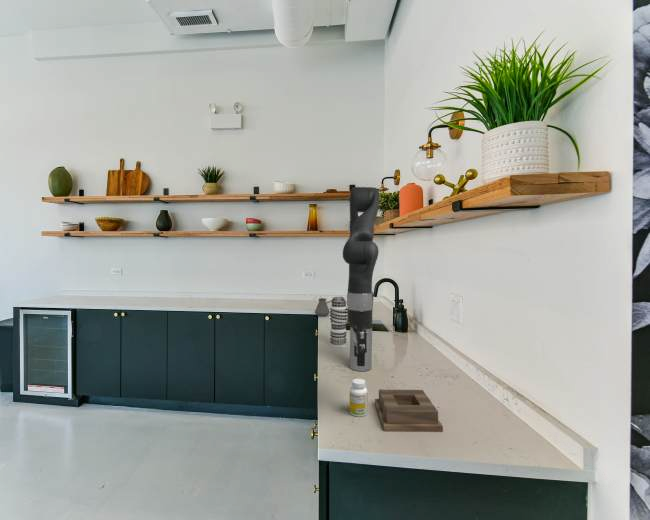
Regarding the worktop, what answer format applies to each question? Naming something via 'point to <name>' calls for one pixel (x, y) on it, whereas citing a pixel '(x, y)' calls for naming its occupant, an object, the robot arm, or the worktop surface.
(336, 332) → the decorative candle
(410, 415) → the bottle dock
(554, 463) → the worktop surface
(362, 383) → the supplement bottle
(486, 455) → the worktop surface
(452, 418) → the worktop surface
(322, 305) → the coffee pot
